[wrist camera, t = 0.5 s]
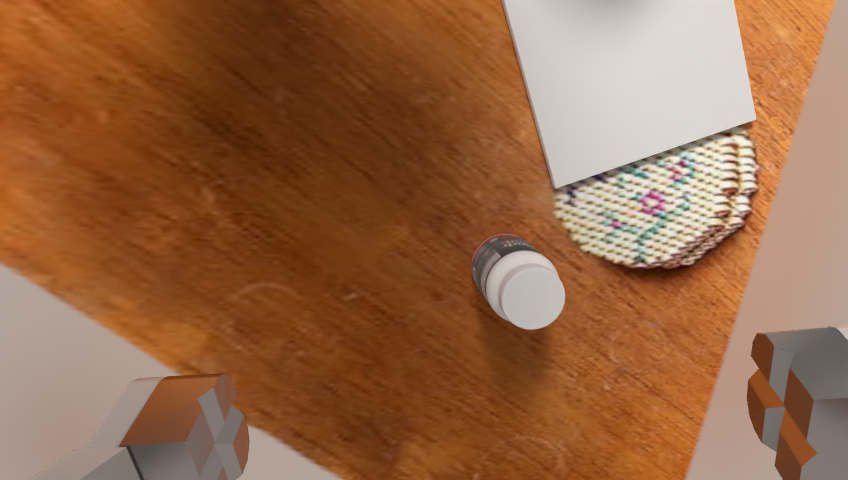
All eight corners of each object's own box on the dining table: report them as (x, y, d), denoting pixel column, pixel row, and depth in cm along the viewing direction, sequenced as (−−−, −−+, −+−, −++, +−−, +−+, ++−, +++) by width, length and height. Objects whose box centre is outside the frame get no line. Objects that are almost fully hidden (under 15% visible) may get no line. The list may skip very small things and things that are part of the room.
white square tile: (492, -31, 51) (495, -33, 50) (708, -103, 52) (713, -106, 51) (552, 187, 55) (555, 188, 55) (750, 118, 56) (756, 119, 55)
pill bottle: (545, 246, 56) (586, 278, 47) (518, 305, 57) (553, 348, 48) (485, 222, 55) (515, 249, 46) (459, 282, 56) (482, 321, 47)
